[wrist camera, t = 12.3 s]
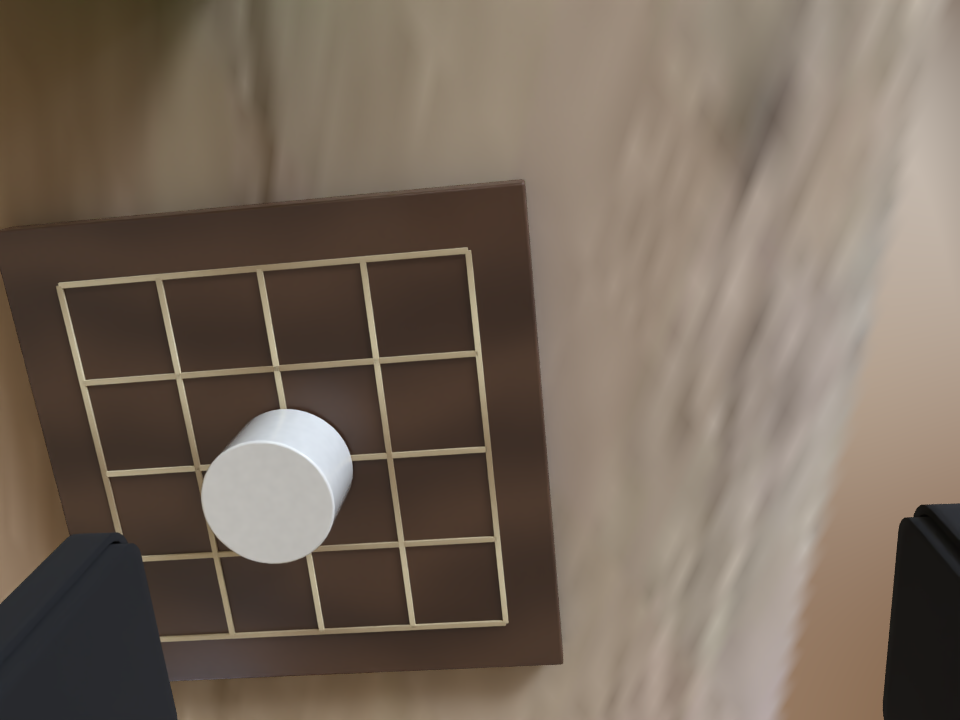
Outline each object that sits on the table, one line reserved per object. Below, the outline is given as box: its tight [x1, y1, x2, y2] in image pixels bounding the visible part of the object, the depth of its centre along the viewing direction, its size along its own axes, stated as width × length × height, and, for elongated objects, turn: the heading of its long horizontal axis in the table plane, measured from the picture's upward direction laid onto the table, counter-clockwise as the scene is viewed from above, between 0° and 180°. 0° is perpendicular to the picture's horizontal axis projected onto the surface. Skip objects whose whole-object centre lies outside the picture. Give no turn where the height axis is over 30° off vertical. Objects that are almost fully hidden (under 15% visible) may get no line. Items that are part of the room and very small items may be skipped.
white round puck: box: [201, 409, 353, 564], centre depth 29 cm, size 4×4×3 cm
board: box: [0, 179, 563, 681], centre depth 31 cm, size 18×18×1 cm
